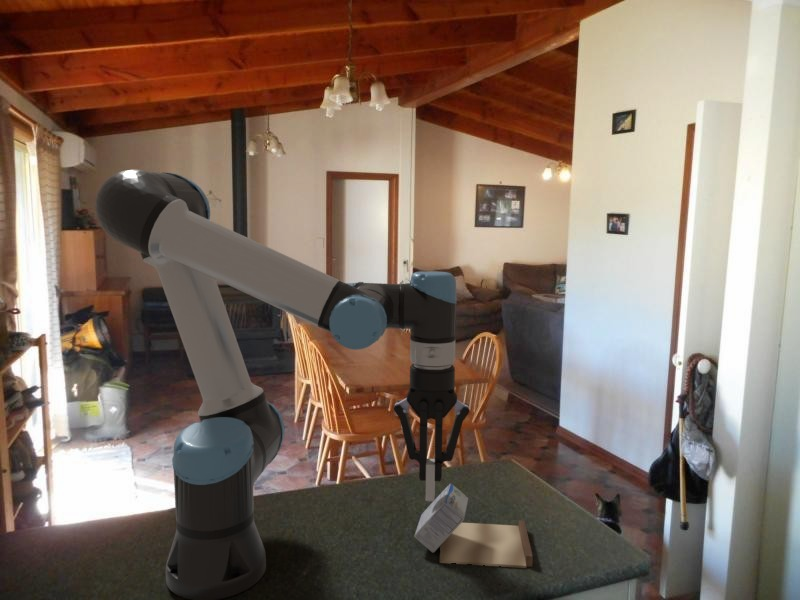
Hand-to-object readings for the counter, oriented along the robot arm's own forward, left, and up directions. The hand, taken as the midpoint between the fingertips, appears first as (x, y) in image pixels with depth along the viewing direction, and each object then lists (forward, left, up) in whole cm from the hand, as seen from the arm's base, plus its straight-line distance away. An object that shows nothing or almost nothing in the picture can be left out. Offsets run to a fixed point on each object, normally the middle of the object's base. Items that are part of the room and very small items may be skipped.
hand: (430, 497), depth 107 cm
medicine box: (-1, 0, -7) cm, 7 cm away
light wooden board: (+9, 0, -8) cm, 12 cm away
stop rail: (+16, 0, -8) cm, 18 cm away
